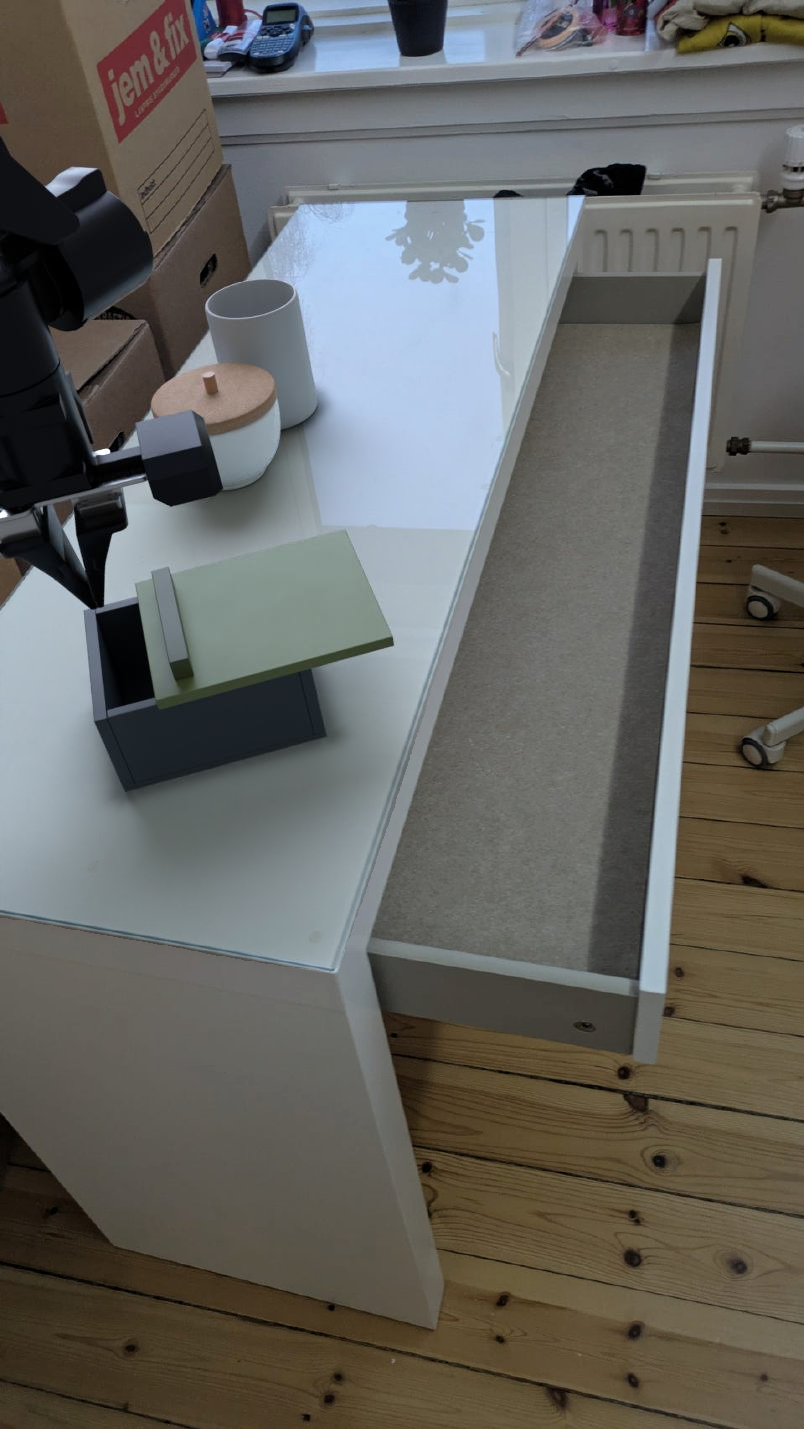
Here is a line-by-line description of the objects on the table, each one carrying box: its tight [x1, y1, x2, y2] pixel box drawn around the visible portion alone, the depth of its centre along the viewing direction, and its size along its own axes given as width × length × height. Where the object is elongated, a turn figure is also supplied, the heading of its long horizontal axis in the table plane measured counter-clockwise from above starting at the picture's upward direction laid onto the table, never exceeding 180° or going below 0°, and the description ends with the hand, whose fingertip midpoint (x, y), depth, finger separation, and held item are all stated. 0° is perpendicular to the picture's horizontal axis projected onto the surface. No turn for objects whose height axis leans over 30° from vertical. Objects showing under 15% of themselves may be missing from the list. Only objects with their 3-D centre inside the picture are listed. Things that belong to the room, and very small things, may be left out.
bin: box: [83, 596, 328, 793], centre depth 74 cm, size 14×12×6 cm
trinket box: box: [150, 363, 282, 491], centre depth 95 cm, size 11×11×9 cm
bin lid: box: [134, 528, 395, 710], centre depth 71 cm, size 15×13×2 cm
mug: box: [204, 278, 319, 431], centre depth 102 cm, size 12×8×11 cm
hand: (97, 604), depth 68 cm, fingers closed
